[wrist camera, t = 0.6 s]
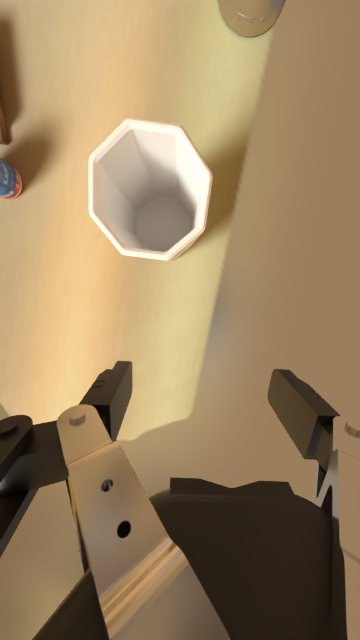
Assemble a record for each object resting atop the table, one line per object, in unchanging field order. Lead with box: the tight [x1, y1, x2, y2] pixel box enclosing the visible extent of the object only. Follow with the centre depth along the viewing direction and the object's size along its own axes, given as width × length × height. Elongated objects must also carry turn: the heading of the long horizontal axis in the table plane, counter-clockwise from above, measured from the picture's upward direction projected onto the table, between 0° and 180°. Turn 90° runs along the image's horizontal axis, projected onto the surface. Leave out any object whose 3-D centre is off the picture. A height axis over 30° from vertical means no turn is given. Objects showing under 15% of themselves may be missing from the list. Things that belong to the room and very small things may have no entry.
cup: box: [89, 117, 213, 261], centre depth 26 cm, size 11×11×18 cm
